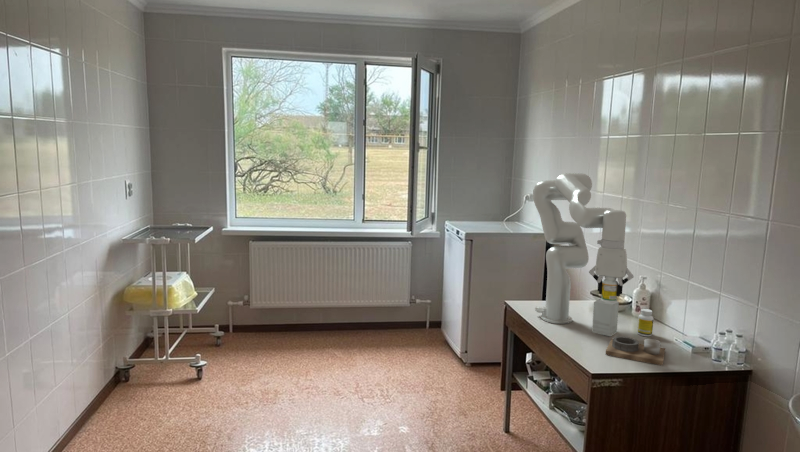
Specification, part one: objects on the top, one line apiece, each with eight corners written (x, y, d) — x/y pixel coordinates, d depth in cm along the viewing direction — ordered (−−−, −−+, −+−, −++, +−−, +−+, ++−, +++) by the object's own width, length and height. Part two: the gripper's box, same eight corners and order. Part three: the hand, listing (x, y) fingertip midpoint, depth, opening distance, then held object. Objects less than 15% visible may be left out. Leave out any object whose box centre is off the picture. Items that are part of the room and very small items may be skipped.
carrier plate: (605, 354, 184) (606, 339, 183) (611, 342, 196) (612, 328, 195) (662, 365, 175) (664, 349, 174) (664, 352, 187) (666, 337, 187)
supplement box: (617, 332, 208) (619, 301, 206) (610, 336, 202) (612, 305, 201) (598, 328, 213) (601, 297, 211) (591, 332, 207) (593, 301, 206)
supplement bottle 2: (653, 337, 203) (655, 312, 201) (638, 336, 204) (640, 311, 202) (650, 332, 208) (652, 308, 207) (635, 331, 209) (637, 307, 208)
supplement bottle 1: (613, 303, 185) (615, 277, 184) (598, 300, 189) (600, 274, 187) (619, 300, 189) (620, 274, 188) (604, 298, 193) (605, 272, 191)
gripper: (585, 243, 187) (582, 293, 190) (637, 248, 179) (634, 300, 181) (589, 241, 194) (586, 289, 196) (640, 245, 185) (636, 295, 187)
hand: (609, 294), depth 189 cm, fingers closed on supplement bottle 1, 5 cm apart
